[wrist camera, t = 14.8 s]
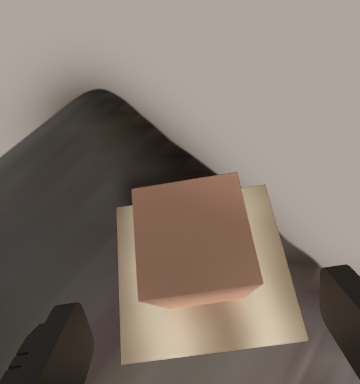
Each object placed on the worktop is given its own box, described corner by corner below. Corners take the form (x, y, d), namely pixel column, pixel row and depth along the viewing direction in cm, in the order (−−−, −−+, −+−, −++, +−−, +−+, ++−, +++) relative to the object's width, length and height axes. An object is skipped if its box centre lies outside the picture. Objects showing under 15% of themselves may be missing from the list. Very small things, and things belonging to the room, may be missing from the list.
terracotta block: (170, 309, 20) (138, 301, 11) (162, 238, 22) (131, 189, 14) (242, 298, 19) (263, 283, 11) (228, 228, 21) (237, 171, 13)
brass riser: (136, 357, 22) (121, 364, 19) (129, 222, 27) (116, 207, 23) (292, 337, 22) (308, 340, 18) (258, 203, 26) (265, 184, 23)
